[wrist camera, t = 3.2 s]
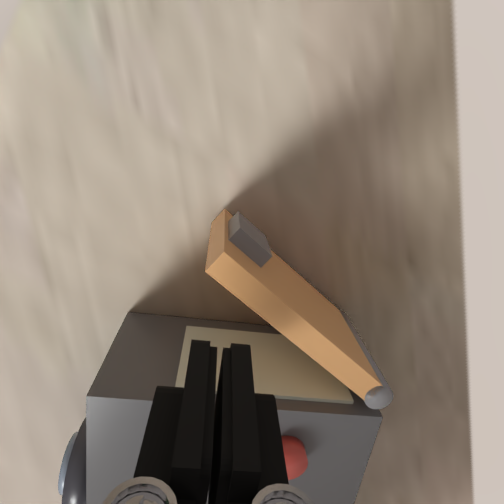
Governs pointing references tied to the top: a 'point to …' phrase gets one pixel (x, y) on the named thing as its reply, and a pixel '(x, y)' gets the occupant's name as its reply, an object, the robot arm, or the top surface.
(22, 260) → the top surface
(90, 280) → the top surface
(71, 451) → the camera body
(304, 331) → the side door
